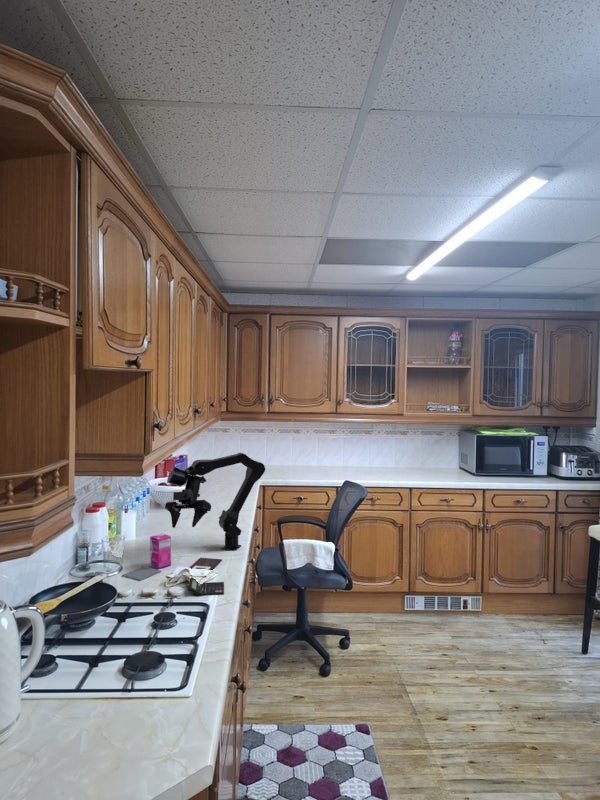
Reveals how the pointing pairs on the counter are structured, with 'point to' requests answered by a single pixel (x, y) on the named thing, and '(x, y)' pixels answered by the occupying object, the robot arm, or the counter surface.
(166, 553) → the supplement box
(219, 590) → the calculator
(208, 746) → the counter surface
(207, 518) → the counter surface
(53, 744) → the counter surface
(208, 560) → the chocolate bar
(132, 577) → the mat
